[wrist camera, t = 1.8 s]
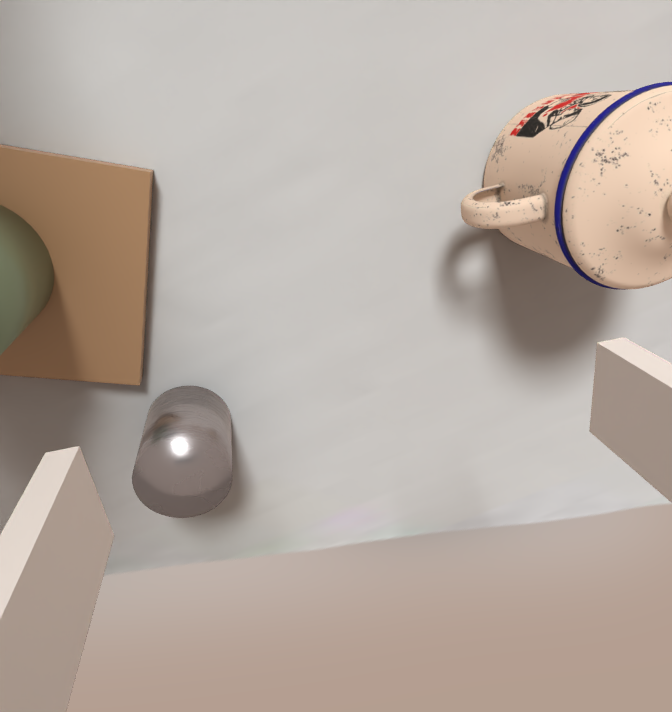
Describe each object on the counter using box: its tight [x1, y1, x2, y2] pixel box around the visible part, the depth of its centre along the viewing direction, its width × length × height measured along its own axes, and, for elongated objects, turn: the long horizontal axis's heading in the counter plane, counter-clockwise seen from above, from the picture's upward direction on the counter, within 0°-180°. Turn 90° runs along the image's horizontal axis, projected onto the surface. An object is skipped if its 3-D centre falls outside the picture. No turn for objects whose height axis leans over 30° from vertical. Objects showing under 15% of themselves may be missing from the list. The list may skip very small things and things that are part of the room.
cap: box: [132, 386, 232, 518], centre depth 32 cm, size 5×5×6 cm
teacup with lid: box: [461, 82, 672, 290], centre depth 27 cm, size 12×9×12 cm
